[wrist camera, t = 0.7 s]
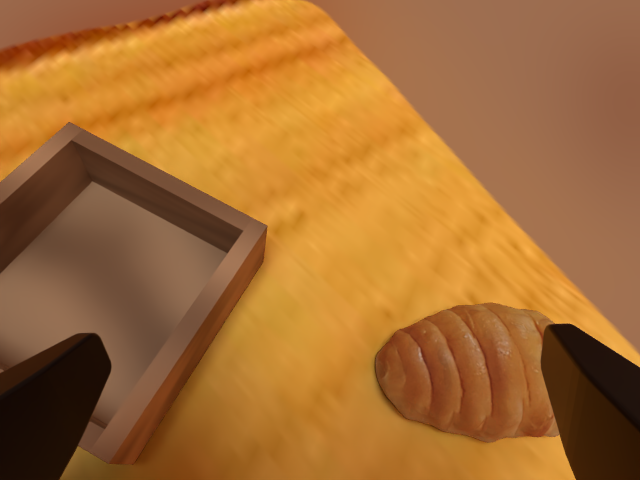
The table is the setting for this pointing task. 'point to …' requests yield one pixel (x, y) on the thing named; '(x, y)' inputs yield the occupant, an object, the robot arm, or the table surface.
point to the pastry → (471, 372)
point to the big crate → (118, 275)
